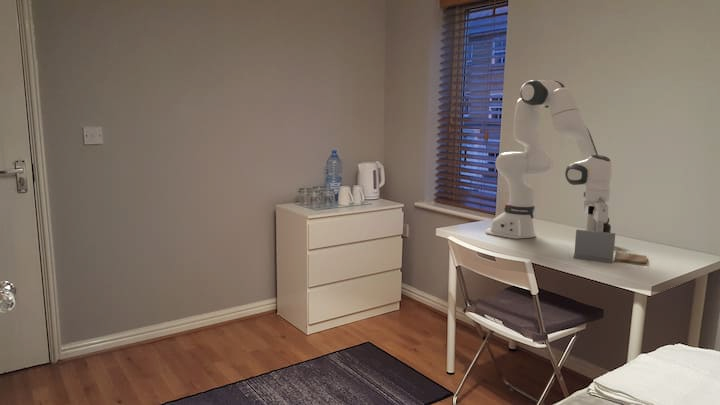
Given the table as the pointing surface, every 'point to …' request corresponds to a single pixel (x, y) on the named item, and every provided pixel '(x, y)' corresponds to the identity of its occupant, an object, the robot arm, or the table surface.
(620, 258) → the walnut pad
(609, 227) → the supplement bottle
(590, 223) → the travel mug
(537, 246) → the table surface
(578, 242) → the slate screen
